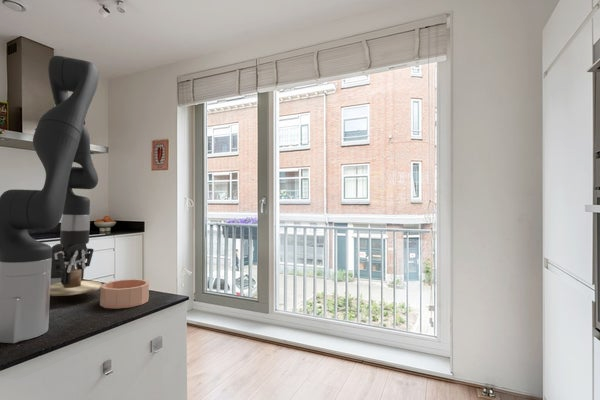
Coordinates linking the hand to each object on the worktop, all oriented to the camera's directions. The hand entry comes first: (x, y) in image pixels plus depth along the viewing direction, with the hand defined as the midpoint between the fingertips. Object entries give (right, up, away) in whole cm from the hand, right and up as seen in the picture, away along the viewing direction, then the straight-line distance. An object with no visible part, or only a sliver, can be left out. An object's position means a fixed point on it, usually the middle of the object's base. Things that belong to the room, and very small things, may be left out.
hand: (72, 282), depth 100 cm
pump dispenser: (-17, -5, +15) cm, 23 cm away
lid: (0, -2, 0) cm, 2 cm away
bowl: (+18, -6, -2) cm, 19 cm away
